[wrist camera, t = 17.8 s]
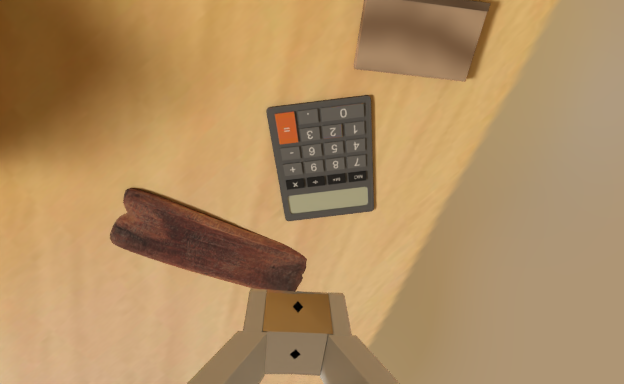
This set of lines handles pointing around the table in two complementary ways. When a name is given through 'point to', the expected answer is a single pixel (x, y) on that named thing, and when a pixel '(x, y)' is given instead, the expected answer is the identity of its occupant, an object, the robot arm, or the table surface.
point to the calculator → (323, 156)
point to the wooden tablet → (204, 244)
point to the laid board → (420, 37)
